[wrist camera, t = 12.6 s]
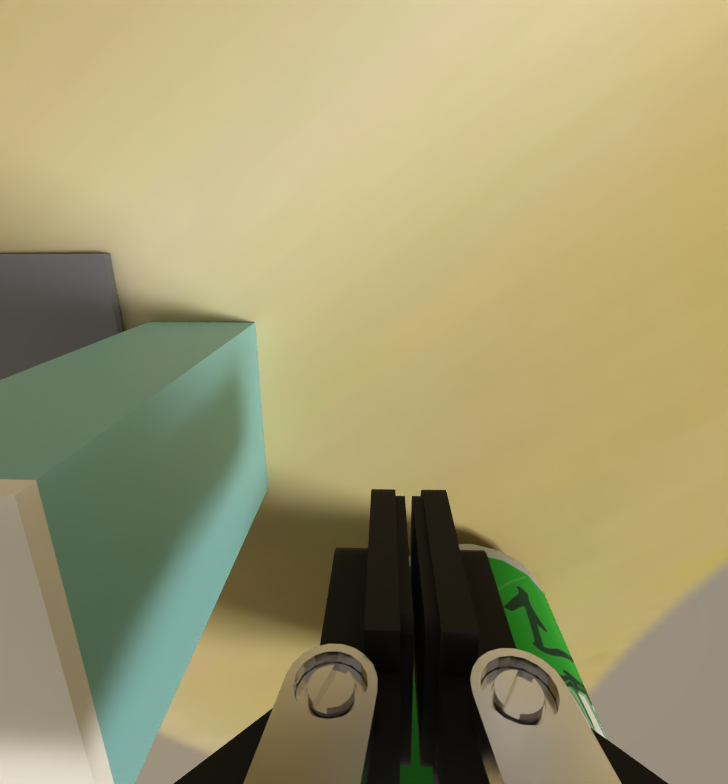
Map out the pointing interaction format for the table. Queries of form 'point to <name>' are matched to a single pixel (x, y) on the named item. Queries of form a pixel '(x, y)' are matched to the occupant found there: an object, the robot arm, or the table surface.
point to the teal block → (118, 537)
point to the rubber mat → (54, 306)
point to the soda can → (518, 644)
